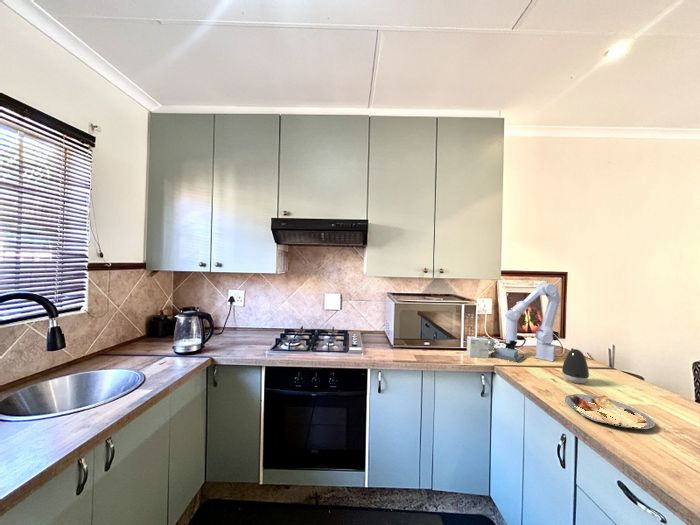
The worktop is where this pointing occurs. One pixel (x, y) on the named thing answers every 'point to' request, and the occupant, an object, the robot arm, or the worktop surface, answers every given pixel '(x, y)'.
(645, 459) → the worktop surface
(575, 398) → the food plate
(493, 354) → the display bay
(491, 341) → the grey metal canister
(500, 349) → the carton
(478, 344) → the light bulb box
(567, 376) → the dark grey rounded dome
